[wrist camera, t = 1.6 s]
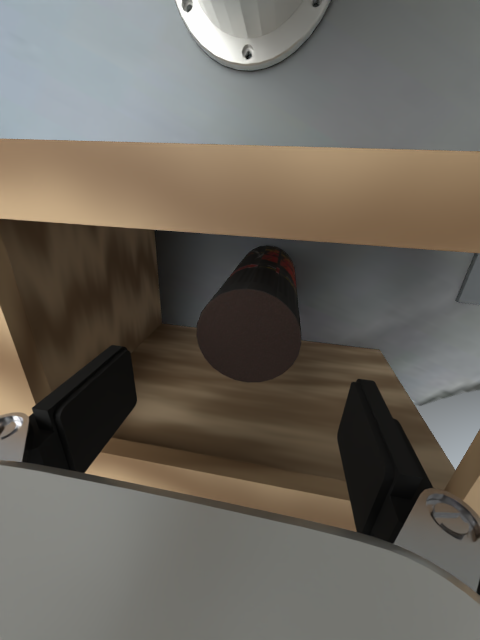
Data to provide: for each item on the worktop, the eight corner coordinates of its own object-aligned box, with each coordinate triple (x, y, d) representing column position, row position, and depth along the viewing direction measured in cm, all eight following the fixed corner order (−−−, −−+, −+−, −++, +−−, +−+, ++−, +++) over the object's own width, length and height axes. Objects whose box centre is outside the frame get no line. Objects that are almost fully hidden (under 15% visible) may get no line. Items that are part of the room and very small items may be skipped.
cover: (140, 179, 26) (-131, 135, 9) (429, 192, 23) (852, 161, 6) (155, 329, 33) (16, 462, 16) (377, 357, 30) (497, 563, 13)
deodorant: (292, 301, 29) (296, 387, 15) (239, 298, 30) (199, 377, 16) (296, 246, 26) (306, 290, 13) (239, 245, 27) (192, 286, 14)
